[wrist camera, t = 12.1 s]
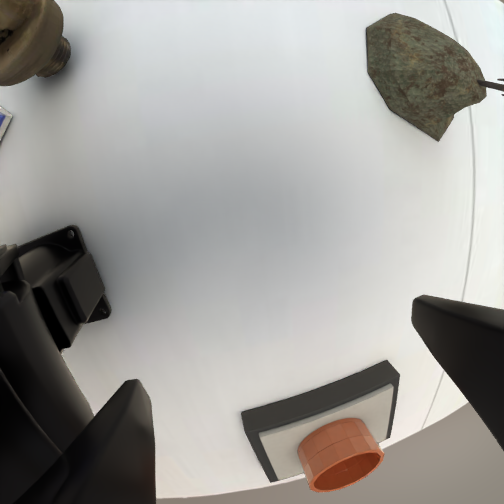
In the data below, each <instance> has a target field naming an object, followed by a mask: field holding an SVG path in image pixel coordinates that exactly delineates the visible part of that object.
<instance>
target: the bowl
mask: <svg viewBox="0 0 504 504" xmlns="http://www.w3.org/2000/svg"><path fill="white" fill-rule="evenodd" d="M297 454H298V457H299V460H300V463H301V466H302V469H303V471H304V474H305V477H306V479H307V482H308V485H309V487H310V489H311V490H313V491H315V492H330V491H334V490H339V489H342V488H345V487H347V486H350V485H352V484H354V483H356V482H358V481H360V480H361V479H363V478H365V477H366V476H368V475H369V474H370V473H372V472H373V471H374V470H375V469H376V468H377V467H378V466H379V465H380V463H381V462H382V461H383V458H384V452H383V451H382V449H381V447H380V446H379V444H378V442H377V441H376V439H375V438H374V436H373V434H372V433H371V431H370V429H369V428H368V427H367V426H366V424H365V422H364V421H362V420H361V419H358V418H345V419H340V420H337V421H333V422H331V423H328V424H326V425H324V426H322V427H320V428H318V429H316V430H315V431H313V432H312V433H311V434H309V435H308V436H307V437H306V438H305V439H304V440H303V441H302V442H301V443H300V445H299V447H298V450H297Z"/></svg>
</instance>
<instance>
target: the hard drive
mask: <svg viewBox="0 0 504 504" xmlns="http://www.w3.org/2000/svg"><path fill="white" fill-rule="evenodd" d="M11 118H12V115H11V114H10V113H9V112H7V111H6V110H5V109H3V108H2V107H1V106H0V140H1V138H2V136H3V134H4V132H5V130H6V128H7V126H8V124H9V122H10V120H11Z"/></svg>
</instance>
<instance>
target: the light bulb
mask: <svg viewBox="0 0 504 504" xmlns="http://www.w3.org/2000/svg"><path fill="white" fill-rule="evenodd" d="M62 32H63V14H62V11H61V9H60V7H59V6H58V4H57V3H56V2H55V1H54V0H0V86H11V85H15V84H18V83H21V82H23V81H25V80H27V79H29V78H30V77H32V76H34V75H35V74H36V75H37V76H38V77H45V78H47V77H50V76H52V75H55V74H57V73H58V72H59V71H60V70H61V69H62V68H63V67H64V66H65V64H66V63H67V61H68V60H69V58H70V53H71V48H70V44H69V42H68V40H67V39H66V38H64V37H62Z"/></svg>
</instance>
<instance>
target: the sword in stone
mask: <svg viewBox="0 0 504 504" xmlns="http://www.w3.org/2000/svg"><path fill="white" fill-rule="evenodd" d="M367 49H368V73H369V75H370V76H371V78H372V80H373V81H374V83H375V85H376V86H377V88H378V90H379V91H380V93H381V95H382V97H383V98H384V100H385V102H386V104H387V105H388V107H389V109H390V110H392V111H393V112H395V113H396V114H398V115H399V116H401V117H402V118H404V119H405V120H407V121H408V122H410V123H411V124H413V125H414V126H416V127H417V128H419V129H420V130H422V131H423V132H425V133H426V134H428V135H429V136H431V137H432V138H434V139H435V140H437V141H438V142H439V140H440V139H441V137H442V136H443V134H444V133H445V131H446V129H447V128H448V126H449V125H450V123H451V121H452V120H453V118H454V114H455V113H457V112H458V111H460V110H462V109H463V108H465V107H467V106H470V105H473V104H476V103H480V102H481V101H482V100H483V99H484V98H485V97H486V87H488V88H492V89H496V90H500V91H504V85H503V84H498V83H493V82H488V81H485V79H484V77H483V74H482V72H481V69H480V67H479V66H478V65H477V63H476V62H475V60H474V59H473V58H472V56H471V55H470V54H469V52H468V51H467V50H466V49H465V48H463V47H462V46H461V45H460V44H459V43H457V42H456V41H455V40H453V39H452V38H450V37H448V36H447V35H445V34H443V33H441V32H440V31H438V30H436V29H434V28H432V27H431V26H429V25H427V24H425V23H423V22H421V21H419V20H417V19H415V18H412V17H408V16H405V15H401V14H397V13H393V14H389V15H388V16H386V17H384V18H382V19H381V20H379V21H377V22H376V23H374V24H372V25H371V26H369V27H367ZM497 80H500V81H504V79H497ZM502 96H504V94H502Z"/></svg>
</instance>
